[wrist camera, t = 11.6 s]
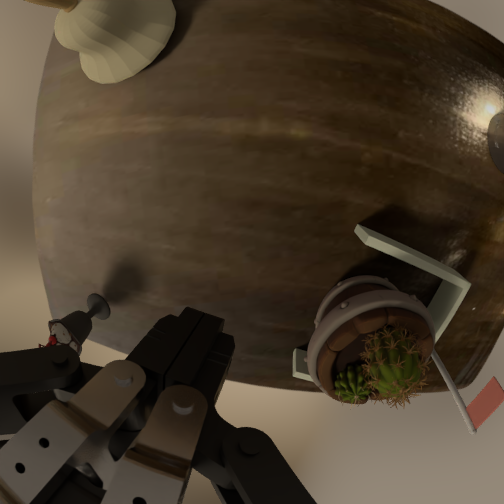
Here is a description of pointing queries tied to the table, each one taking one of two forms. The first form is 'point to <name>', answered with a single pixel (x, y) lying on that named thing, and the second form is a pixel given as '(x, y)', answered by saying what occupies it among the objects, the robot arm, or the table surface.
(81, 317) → the sundae
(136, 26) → the handbell
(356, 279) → the flowerpot
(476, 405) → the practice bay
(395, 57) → the table surface
